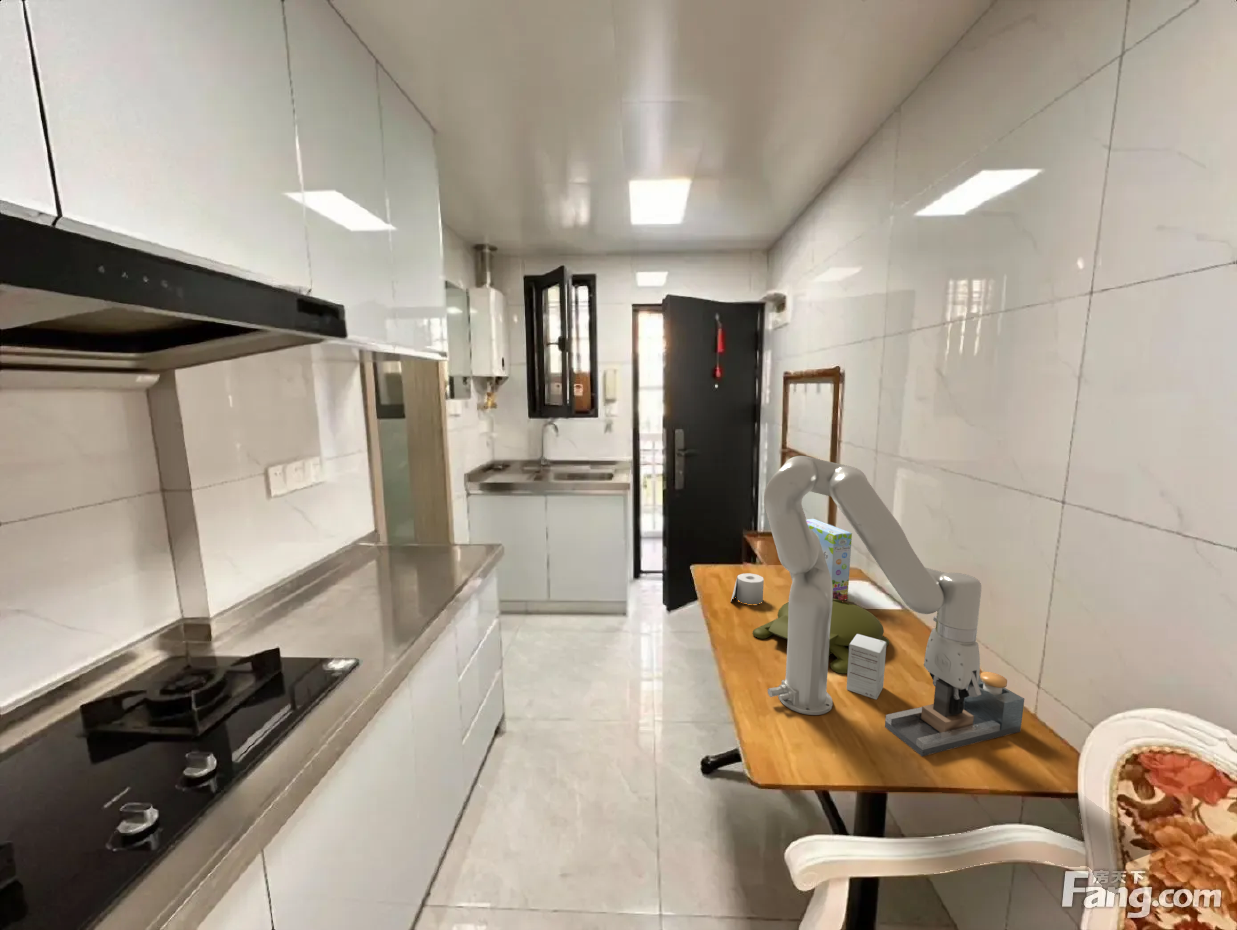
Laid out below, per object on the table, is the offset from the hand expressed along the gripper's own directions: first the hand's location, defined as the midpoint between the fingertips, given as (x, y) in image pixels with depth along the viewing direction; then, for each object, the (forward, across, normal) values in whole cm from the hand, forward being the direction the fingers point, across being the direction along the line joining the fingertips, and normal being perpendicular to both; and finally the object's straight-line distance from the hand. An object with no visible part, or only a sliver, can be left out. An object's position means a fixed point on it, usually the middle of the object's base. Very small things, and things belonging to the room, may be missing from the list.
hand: (948, 707), depth 116 cm
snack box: (+6, -78, +27) cm, 83 cm away
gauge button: (+3, 0, +13) cm, 13 cm away
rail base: (+6, 0, +2) cm, 6 cm away
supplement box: (+6, -19, -5) cm, 21 cm away
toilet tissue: (+6, -78, -4) cm, 78 cm away
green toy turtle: (+6, -46, +4) cm, 47 cm away
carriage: (+4, 0, 0) cm, 4 cm away
